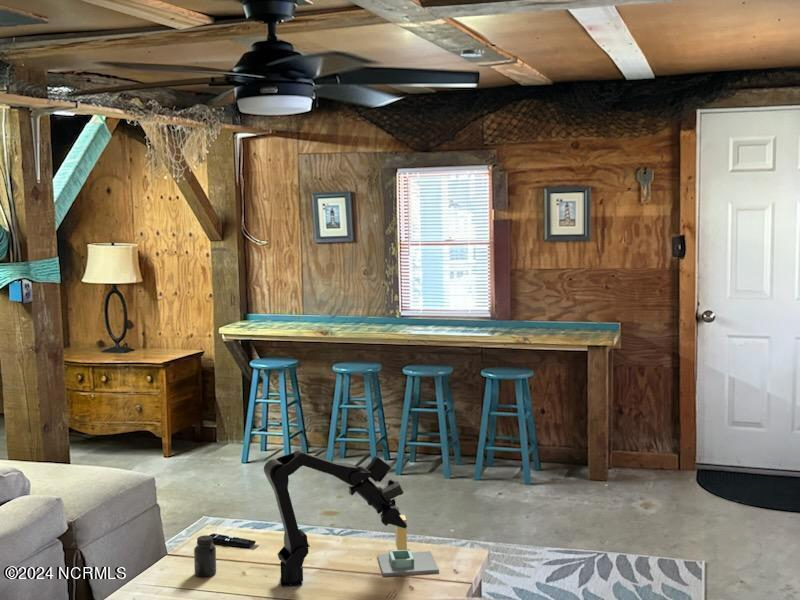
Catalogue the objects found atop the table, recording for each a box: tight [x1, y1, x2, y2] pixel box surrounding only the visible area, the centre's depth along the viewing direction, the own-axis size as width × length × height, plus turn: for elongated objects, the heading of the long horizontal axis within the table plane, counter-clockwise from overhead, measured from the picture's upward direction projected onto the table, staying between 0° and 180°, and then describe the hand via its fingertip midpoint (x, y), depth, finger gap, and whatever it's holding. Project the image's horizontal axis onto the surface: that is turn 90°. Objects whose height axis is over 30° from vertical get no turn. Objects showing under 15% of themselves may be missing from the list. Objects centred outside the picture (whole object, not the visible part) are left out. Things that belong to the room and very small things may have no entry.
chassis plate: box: [376, 548, 440, 577], centre depth 293 cm, size 18×16×4 cm
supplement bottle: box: [193, 534, 217, 579], centre depth 286 cm, size 7×7×12 cm
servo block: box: [394, 514, 408, 550], centre depth 291 cm, size 3×5×10 cm, turn 8°
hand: (405, 524), depth 291 cm, fingers closed on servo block, 5 cm apart
